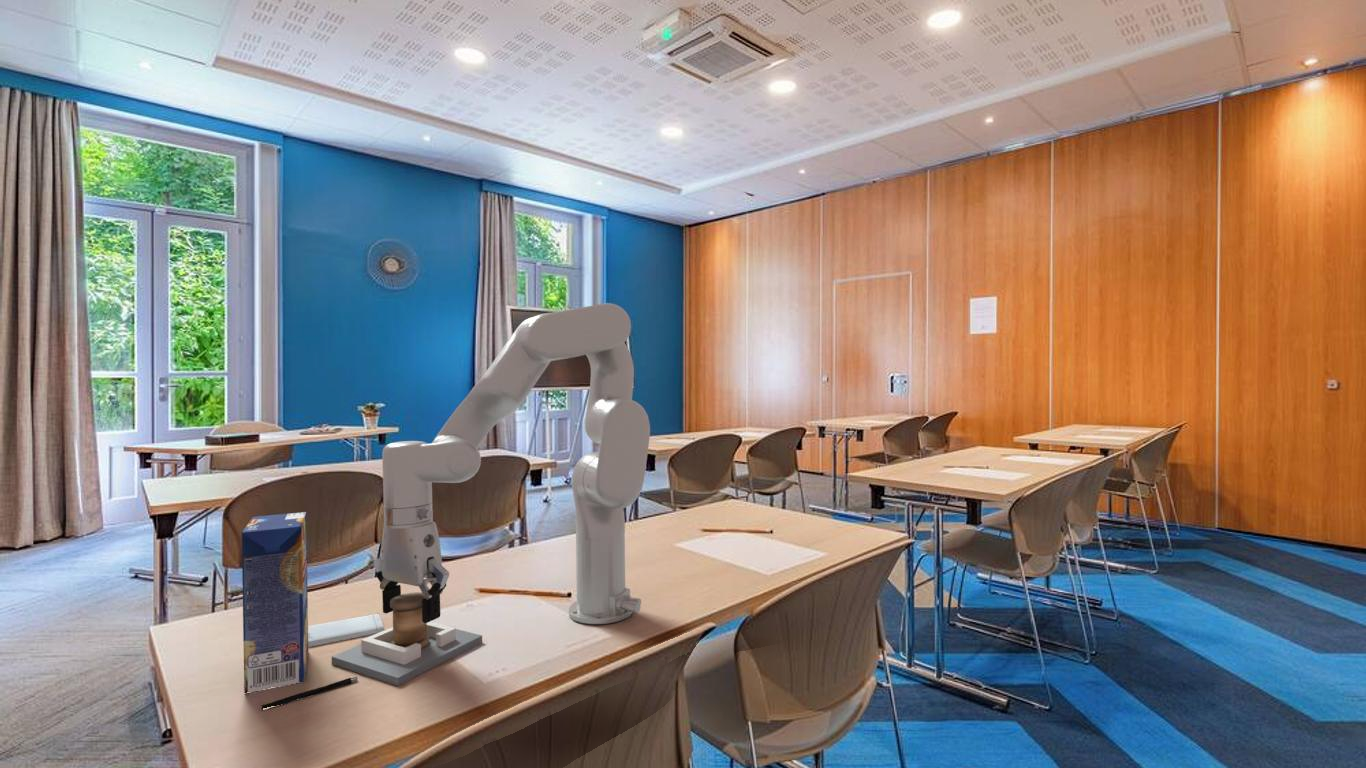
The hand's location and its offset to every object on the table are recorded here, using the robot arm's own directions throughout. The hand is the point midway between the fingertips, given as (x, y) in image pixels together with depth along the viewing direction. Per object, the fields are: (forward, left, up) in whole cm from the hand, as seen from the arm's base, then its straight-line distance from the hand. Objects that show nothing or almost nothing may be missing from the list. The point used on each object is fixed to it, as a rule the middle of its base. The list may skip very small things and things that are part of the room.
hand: (411, 615), depth 104 cm
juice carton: (+13, +14, -7) cm, 20 cm away
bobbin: (0, 0, -5) cm, 5 cm away
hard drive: (+19, 0, -7) cm, 20 cm away
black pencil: (+1, +16, -7) cm, 18 cm away
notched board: (0, 0, -6) cm, 6 cm away
